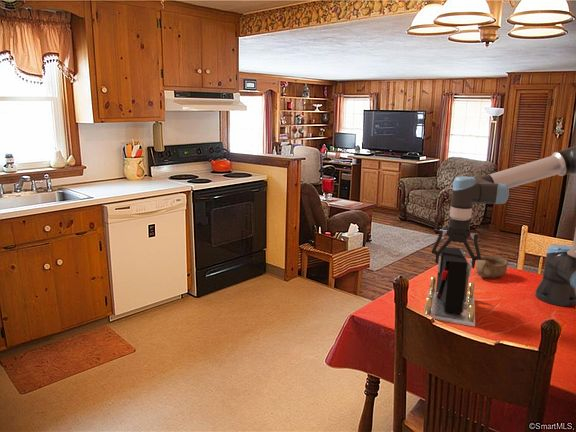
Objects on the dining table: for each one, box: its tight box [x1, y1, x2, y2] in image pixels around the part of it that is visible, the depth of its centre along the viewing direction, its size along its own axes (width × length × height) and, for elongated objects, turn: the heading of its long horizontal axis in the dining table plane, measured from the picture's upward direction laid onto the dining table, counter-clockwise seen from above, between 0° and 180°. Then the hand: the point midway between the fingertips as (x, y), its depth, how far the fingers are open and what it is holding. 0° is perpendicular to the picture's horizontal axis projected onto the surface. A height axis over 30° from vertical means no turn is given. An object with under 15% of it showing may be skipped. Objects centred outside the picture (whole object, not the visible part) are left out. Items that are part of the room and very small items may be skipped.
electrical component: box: [435, 246, 473, 313], centre depth 174 cm, size 18×10×20 cm, turn 168°
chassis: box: [423, 276, 476, 327], centre depth 176 cm, size 18×26×8 cm
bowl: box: [475, 255, 509, 278], centre depth 211 cm, size 18×14×10 cm
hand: (453, 273), depth 174 cm, fingers closed on electrical component, 10 cm apart
